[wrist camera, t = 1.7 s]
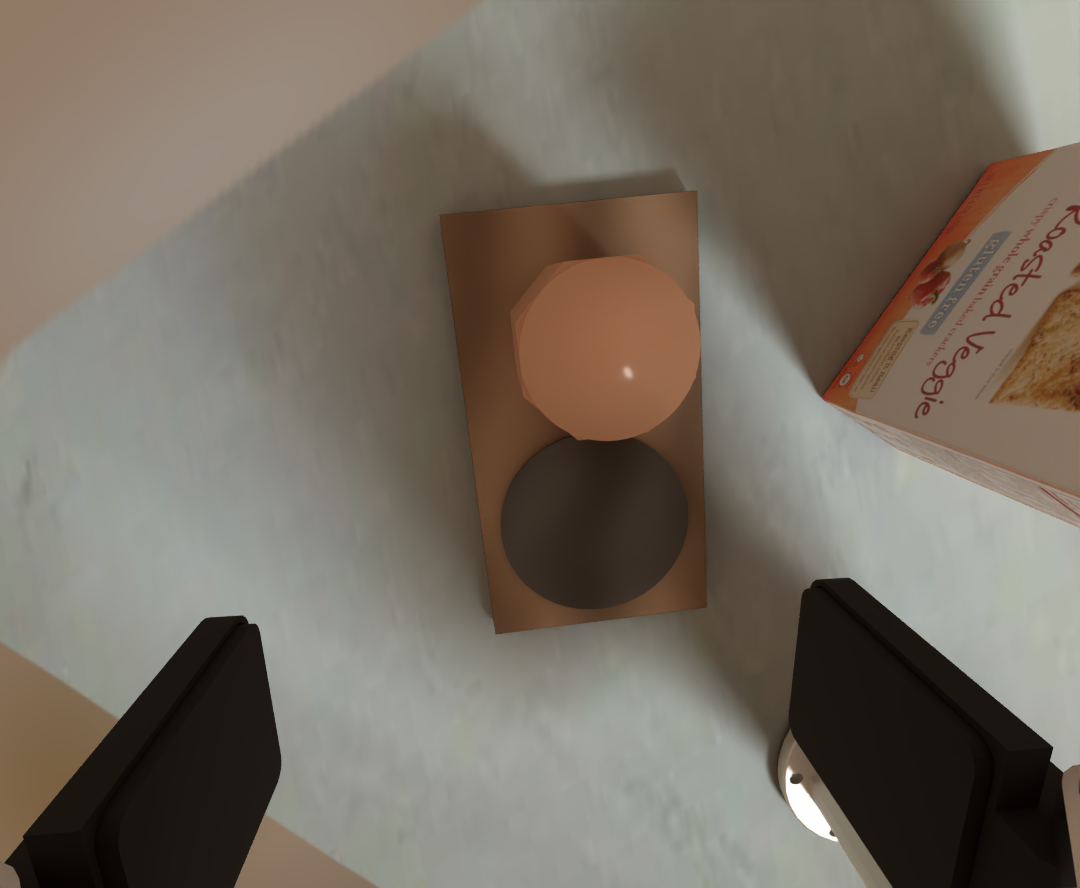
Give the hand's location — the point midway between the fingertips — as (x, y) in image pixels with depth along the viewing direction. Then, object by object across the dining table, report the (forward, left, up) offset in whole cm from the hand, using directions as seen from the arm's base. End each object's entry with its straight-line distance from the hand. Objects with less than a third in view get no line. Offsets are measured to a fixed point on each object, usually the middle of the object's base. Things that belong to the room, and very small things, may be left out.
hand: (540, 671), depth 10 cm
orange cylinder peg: (-4, -4, -21) cm, 21 cm away
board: (-4, +1, -22) cm, 22 cm away
